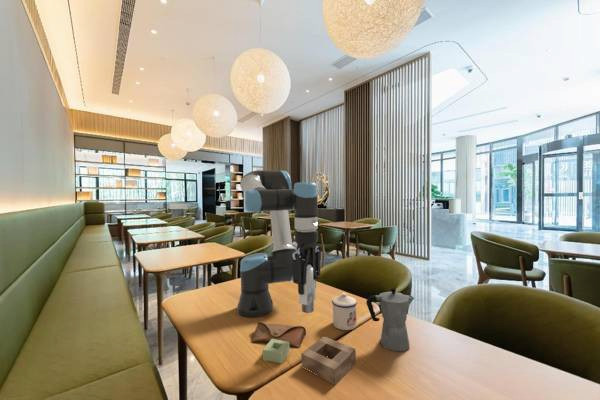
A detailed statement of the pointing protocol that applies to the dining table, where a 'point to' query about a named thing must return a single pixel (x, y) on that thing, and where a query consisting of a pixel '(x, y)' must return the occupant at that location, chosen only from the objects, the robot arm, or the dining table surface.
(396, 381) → the dining table surface
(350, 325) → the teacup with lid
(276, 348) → the pale green holed block
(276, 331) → the sunglasses case
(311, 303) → the silver metal cylinder
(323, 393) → the dining table surface
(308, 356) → the brown square holed block
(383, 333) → the coffeepot
